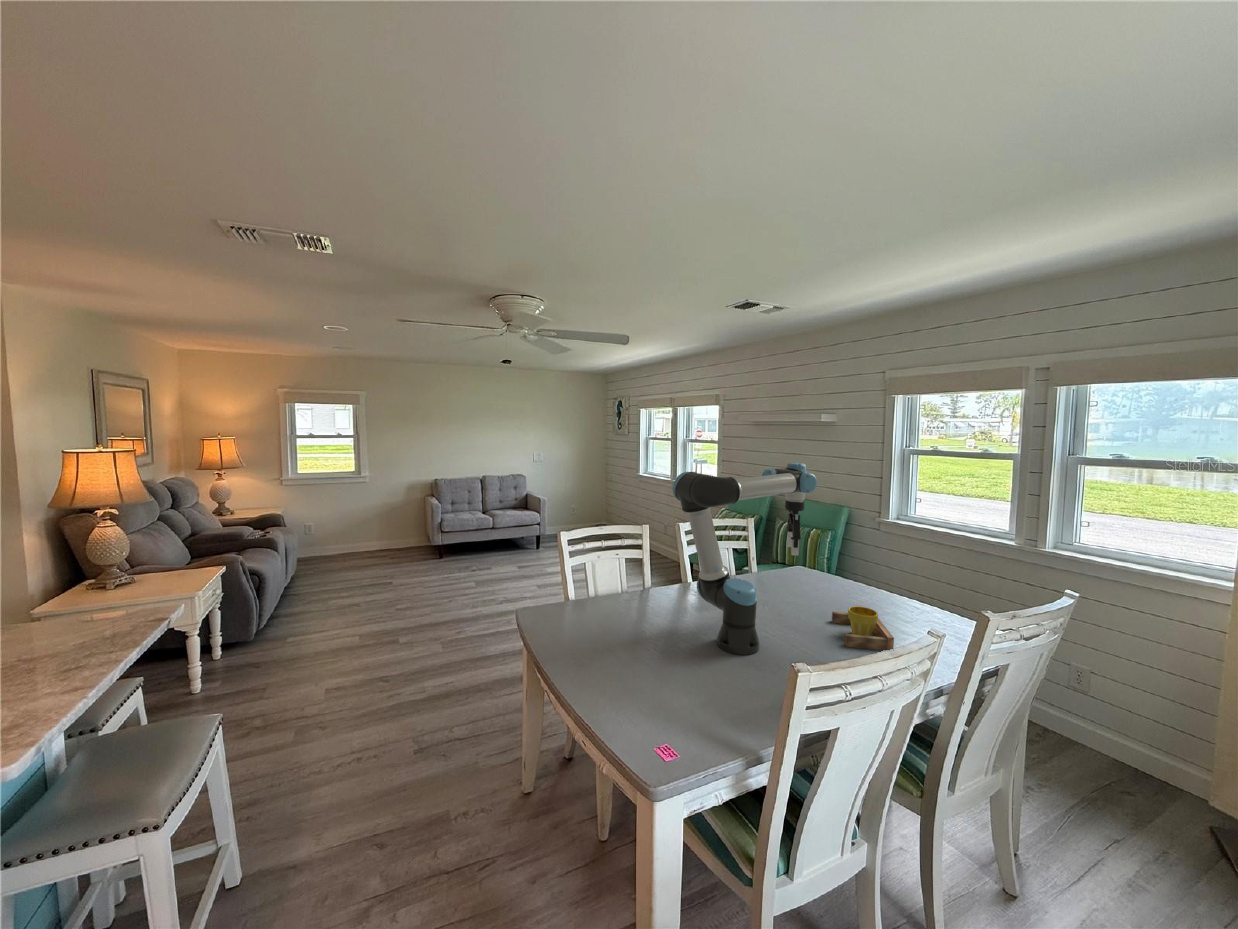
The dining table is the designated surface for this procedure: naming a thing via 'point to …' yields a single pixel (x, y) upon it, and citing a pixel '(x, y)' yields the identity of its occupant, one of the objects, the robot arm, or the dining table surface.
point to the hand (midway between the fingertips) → (792, 551)
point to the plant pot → (862, 620)
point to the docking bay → (869, 642)
